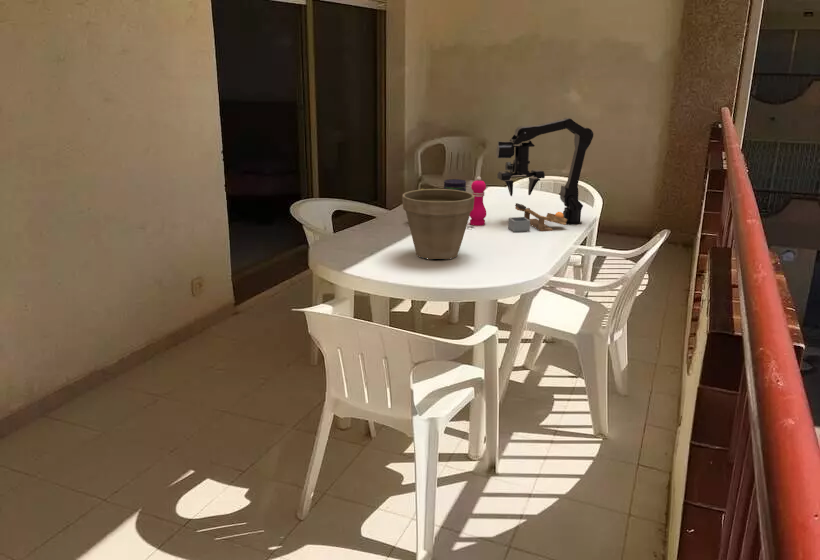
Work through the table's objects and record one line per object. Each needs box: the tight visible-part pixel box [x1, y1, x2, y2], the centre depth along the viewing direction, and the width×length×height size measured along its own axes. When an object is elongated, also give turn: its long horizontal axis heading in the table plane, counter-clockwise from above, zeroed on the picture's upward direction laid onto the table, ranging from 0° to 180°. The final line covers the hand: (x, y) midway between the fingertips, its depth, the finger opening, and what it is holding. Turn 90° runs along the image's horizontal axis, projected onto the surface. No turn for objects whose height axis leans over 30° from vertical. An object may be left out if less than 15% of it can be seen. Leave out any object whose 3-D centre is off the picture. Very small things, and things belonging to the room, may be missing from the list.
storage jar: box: [443, 178, 467, 192], centre depth 292 cm, size 10×10×15 cm
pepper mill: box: [469, 176, 487, 227], centre depth 275 cm, size 7×7×20 cm
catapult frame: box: [523, 207, 553, 232], centre depth 275 cm, size 6×18×6 cm, turn 11°
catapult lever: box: [514, 203, 567, 226], centre depth 274 cm, size 17×16×3 cm
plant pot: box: [401, 188, 474, 260], centre depth 232 cm, size 25×25×22 cm
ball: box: [554, 211, 564, 218], centre depth 270 cm, size 4×4×4 cm
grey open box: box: [507, 216, 531, 233], centre depth 268 cm, size 7×7×4 cm
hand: (520, 195), depth 276 cm, fingers open, 8 cm apart
